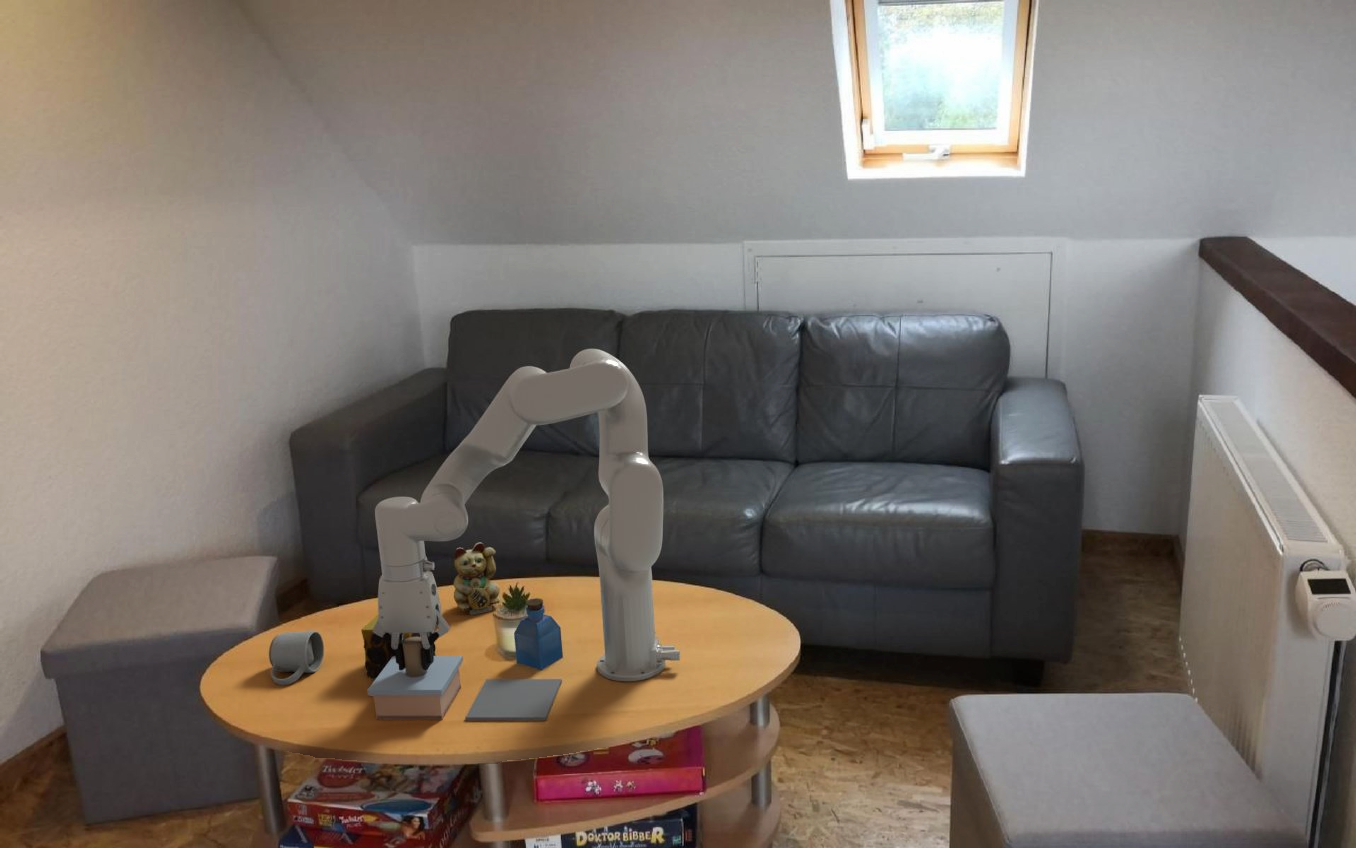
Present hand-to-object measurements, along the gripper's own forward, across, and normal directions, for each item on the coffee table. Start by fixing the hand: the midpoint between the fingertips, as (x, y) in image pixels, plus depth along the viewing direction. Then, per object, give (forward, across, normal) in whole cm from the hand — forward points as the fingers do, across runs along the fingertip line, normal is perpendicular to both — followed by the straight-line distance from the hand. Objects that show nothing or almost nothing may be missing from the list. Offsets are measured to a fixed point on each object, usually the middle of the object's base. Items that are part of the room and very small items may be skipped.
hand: (415, 666), depth 197 cm
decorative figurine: (+7, +1, -42) cm, 43 cm away
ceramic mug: (+8, +28, -12) cm, 32 cm away
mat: (+7, -17, -1) cm, 19 cm away
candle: (+8, +8, -14) cm, 18 cm away
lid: (+2, 0, 0) cm, 2 cm away
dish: (+7, 0, 0) cm, 7 cm away
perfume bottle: (+8, -18, -17) cm, 26 cm away
